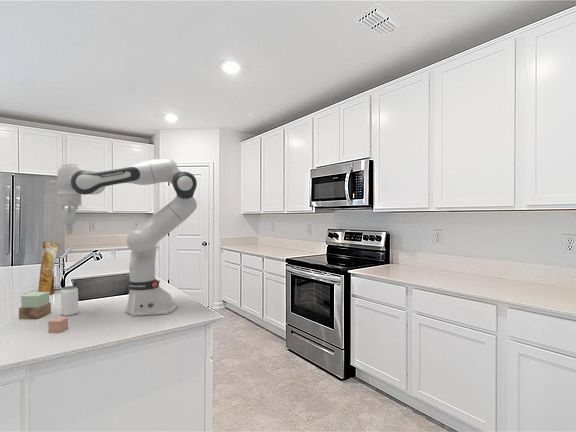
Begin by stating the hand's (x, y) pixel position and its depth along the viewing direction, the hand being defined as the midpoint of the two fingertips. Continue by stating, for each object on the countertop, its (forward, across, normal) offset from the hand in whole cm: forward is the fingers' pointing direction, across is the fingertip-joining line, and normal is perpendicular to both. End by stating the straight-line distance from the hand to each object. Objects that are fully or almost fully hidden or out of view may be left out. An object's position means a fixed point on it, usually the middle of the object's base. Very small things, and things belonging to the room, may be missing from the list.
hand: (69, 233), depth 144 cm
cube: (+37, -17, +4) cm, 41 cm away
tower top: (+32, +8, +13) cm, 35 cm away
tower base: (+37, +8, +13) cm, 40 cm away
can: (+37, +4, 0) cm, 37 cm away
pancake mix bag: (+37, +54, +11) cm, 66 cm away
